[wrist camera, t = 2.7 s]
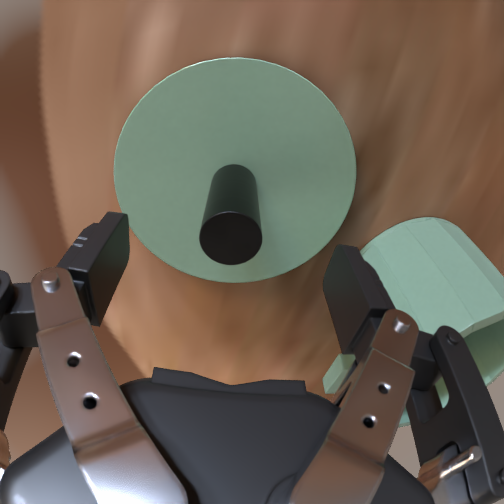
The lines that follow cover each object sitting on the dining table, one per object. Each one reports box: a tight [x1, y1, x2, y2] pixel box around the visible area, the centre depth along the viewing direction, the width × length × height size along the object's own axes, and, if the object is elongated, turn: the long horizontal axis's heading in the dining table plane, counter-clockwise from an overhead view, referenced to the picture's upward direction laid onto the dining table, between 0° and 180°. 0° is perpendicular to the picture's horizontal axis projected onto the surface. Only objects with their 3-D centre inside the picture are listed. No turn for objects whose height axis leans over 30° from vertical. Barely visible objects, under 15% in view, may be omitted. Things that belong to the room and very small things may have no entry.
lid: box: [114, 58, 356, 283], centre depth 14 cm, size 14×14×7 cm
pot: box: [322, 217, 504, 427], centre depth 18 cm, size 13×18×10 cm
